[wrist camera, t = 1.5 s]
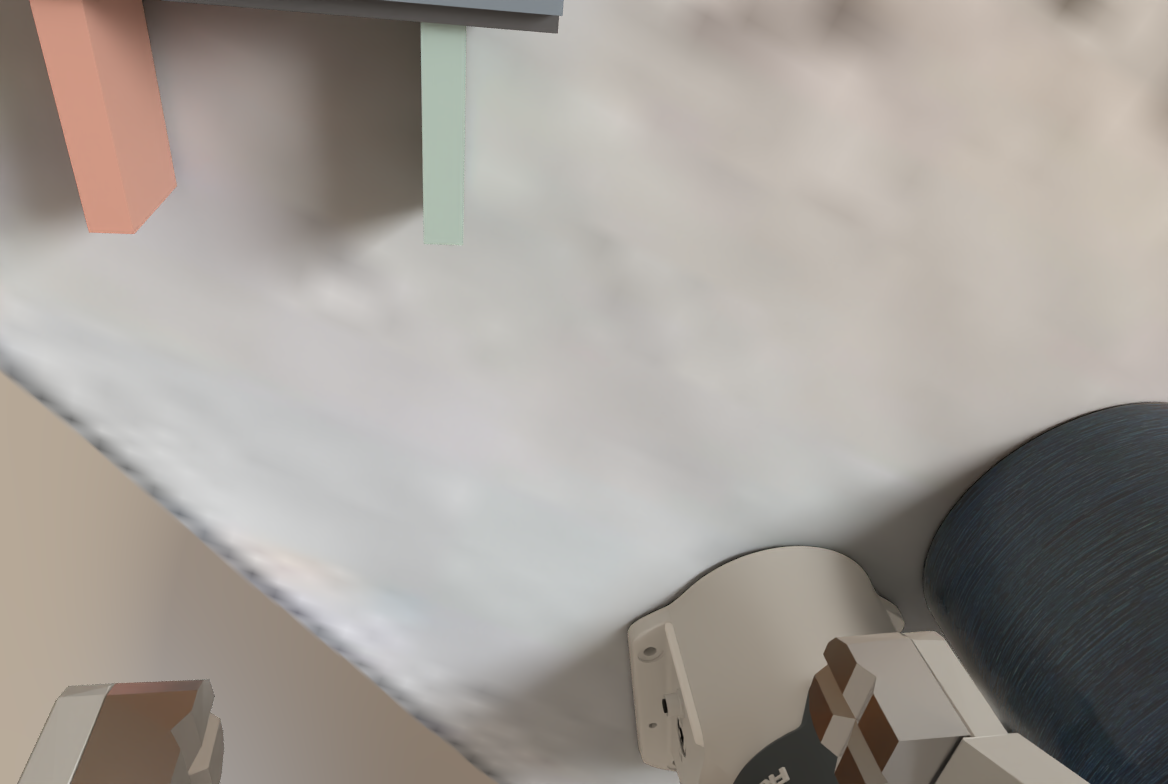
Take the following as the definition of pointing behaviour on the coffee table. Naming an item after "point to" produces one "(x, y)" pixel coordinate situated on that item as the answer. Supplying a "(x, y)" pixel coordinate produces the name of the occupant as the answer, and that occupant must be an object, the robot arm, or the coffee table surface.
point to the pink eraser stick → (108, 108)
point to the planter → (1068, 592)
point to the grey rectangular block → (426, 11)
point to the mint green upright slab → (443, 131)
